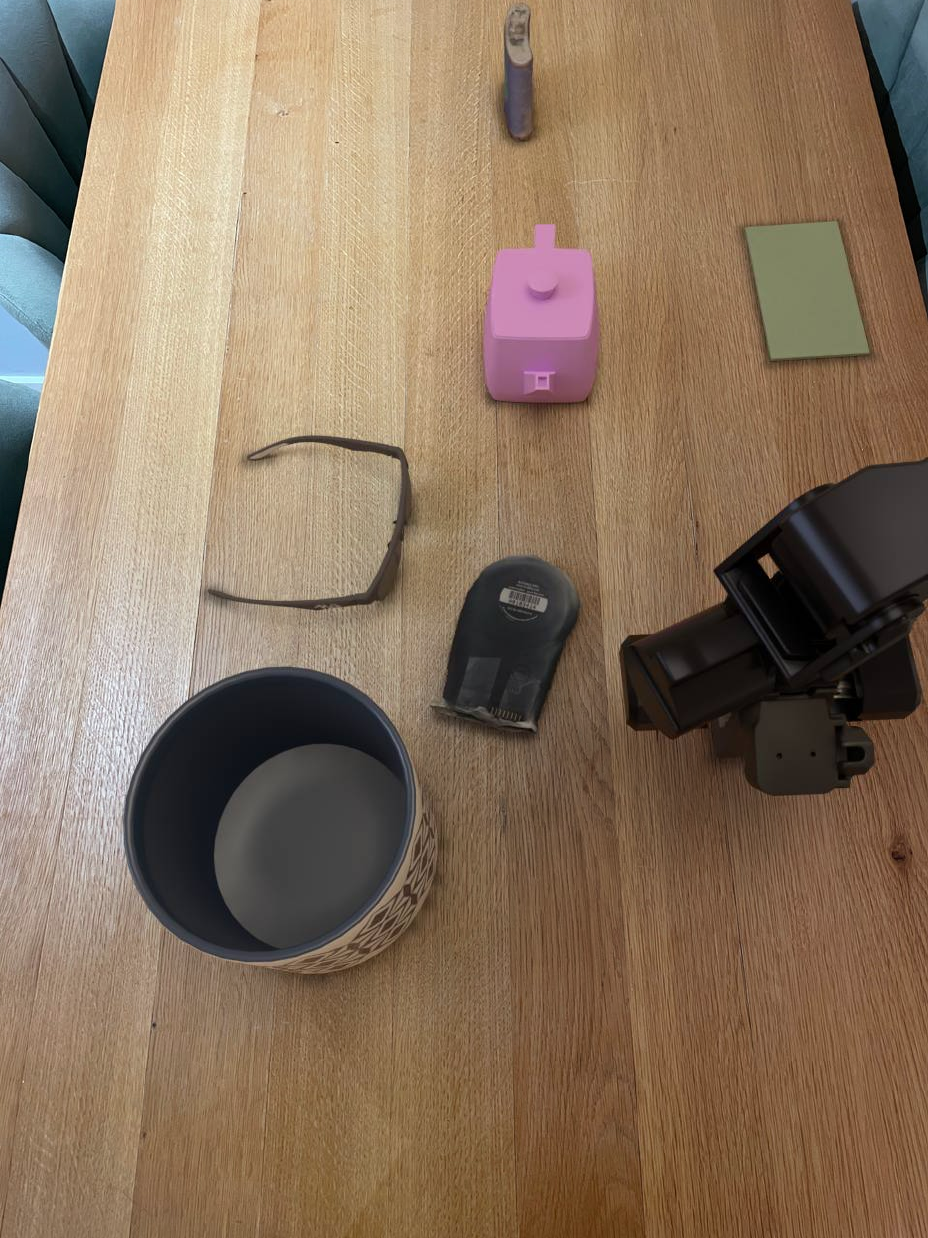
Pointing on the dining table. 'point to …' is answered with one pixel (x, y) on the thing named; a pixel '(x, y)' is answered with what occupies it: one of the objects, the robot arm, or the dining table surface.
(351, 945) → the planter
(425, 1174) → the dining table surface
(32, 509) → the dining table surface
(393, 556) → the sunglasses
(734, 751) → the dark grey rectangular prism
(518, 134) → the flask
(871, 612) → the robot arm
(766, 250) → the mat
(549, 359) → the teapot
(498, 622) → the electronic device
